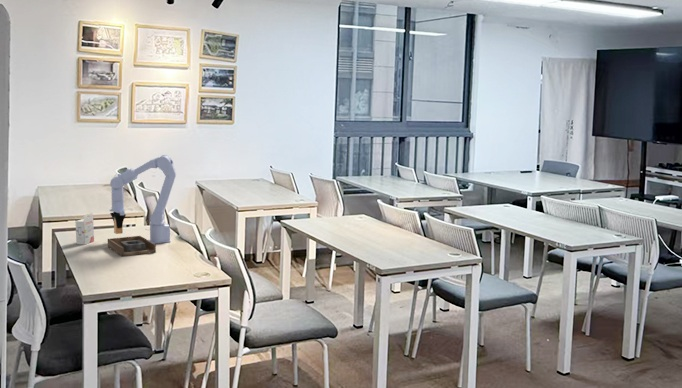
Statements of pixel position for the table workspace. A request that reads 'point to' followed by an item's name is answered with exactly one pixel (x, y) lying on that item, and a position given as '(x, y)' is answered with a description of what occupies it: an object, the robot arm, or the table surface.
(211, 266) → the table surface
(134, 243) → the brown wooden box
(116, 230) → the plug
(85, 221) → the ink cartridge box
